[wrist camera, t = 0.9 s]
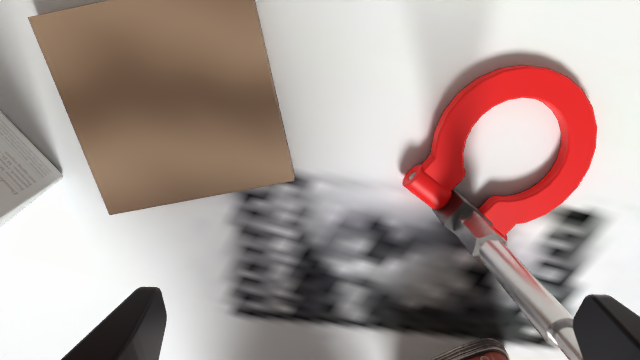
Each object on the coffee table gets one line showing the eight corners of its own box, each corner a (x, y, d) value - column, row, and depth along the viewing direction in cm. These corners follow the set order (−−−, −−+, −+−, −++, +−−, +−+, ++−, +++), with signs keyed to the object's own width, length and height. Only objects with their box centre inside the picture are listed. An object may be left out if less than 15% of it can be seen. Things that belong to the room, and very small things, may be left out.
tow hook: (509, 28, 21) (385, 171, 23) (795, 34, 9) (482, 329, 11) (615, 132, 23) (492, 254, 26) (961, 248, 11) (670, 463, 13)
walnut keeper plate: (294, 175, 23) (294, 180, 23) (115, 208, 24) (109, 215, 23) (248, -28, 20) (245, -30, 19) (38, 17, 20) (27, 17, 19)
